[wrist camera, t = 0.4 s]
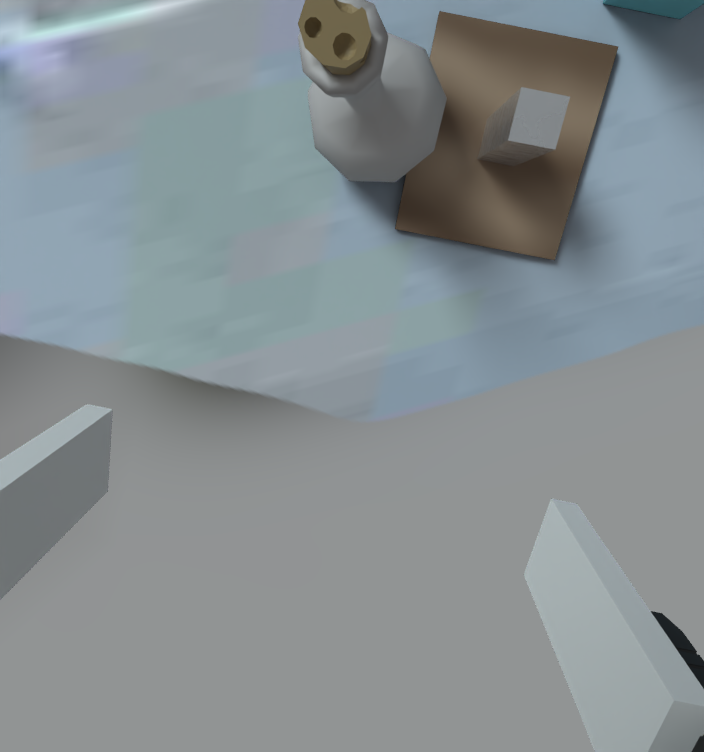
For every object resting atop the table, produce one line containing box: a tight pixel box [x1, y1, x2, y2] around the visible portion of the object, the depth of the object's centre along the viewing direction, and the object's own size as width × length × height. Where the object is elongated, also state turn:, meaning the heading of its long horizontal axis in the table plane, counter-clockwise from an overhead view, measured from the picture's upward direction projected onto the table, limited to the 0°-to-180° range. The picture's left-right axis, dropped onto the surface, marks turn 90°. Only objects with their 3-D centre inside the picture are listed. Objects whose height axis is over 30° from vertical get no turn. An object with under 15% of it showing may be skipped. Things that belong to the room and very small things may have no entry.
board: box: [395, 11, 618, 260], centre depth 36 cm, size 14×12×1 cm
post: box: [478, 87, 570, 166], centre depth 32 cm, size 3×3×9 cm
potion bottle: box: [298, 0, 447, 182], centre depth 28 cm, size 9×9×18 cm
